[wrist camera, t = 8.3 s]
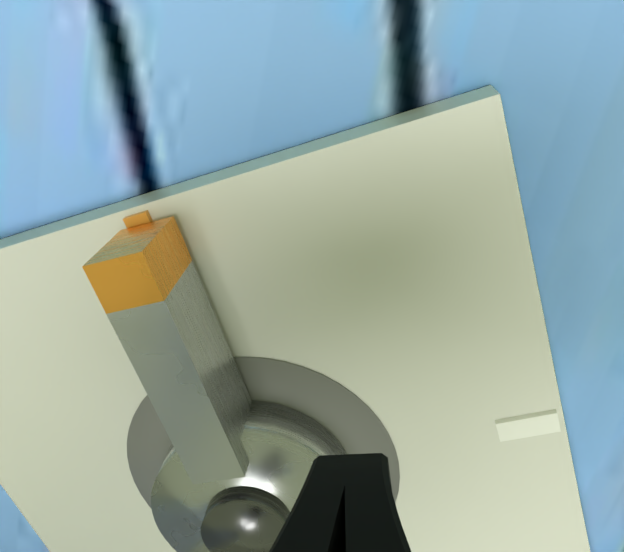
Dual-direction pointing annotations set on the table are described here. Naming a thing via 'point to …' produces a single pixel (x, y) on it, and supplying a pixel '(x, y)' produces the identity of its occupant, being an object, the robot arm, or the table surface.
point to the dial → (201, 401)
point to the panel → (313, 336)
